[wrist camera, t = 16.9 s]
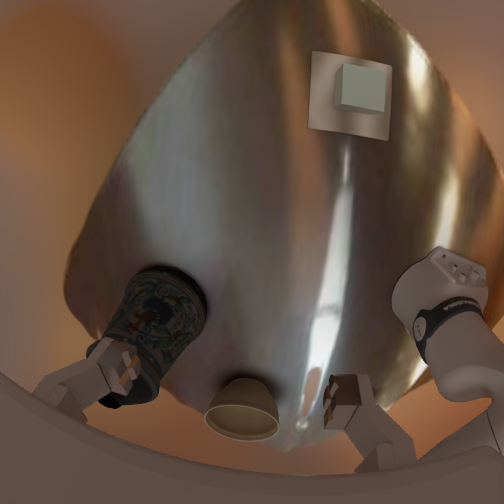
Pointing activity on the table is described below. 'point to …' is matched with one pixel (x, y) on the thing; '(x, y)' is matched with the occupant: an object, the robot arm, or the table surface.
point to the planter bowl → (243, 411)
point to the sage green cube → (359, 89)
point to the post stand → (323, 99)
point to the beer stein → (155, 327)
